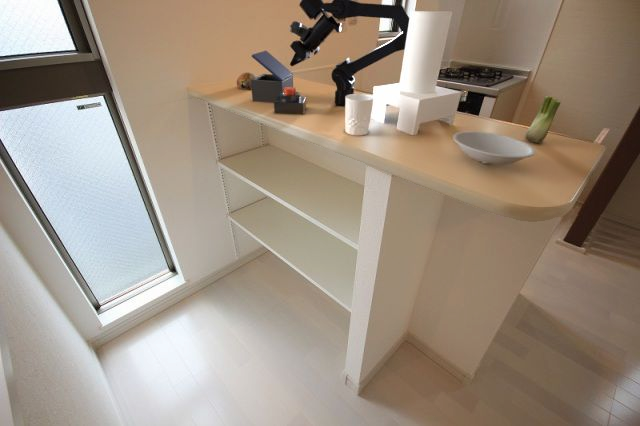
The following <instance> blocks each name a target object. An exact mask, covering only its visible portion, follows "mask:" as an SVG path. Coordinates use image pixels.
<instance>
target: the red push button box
mask: <svg viewBox="0 0 640 426" xmlns="http://www.w3.org/2000/svg"><path fill="white" fill-rule="evenodd" d="M273 108H274V109H273V111H274V114H279V115H281V114H282V115H304V114H305V111H306V109H307V96H301V92H299V91H296V94H295V95H285V94H284V92H281V93H280V96H278V97H277V99H276V100H275V101H274V103H273Z"/></svg>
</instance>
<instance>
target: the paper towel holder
mask: <svg viewBox="0 0 640 426" xmlns="http://www.w3.org/2000/svg"><path fill="white" fill-rule="evenodd" d="M452 16H453V11H435V10H434V11H433V10H428V11H427V10H411V11H410V13H409V25H408V31H407V38H406V44H405V49H404V50H403V57H402V64H401V71H400V77H399V82H397V83H390V84H384V85H376V86H373V89H372V97H373V98H374V99H373V106H372V112H371V118H370V120H373V121H376V122H377V123H378V122H379V123H381V124H385V117H386V111H387V107H388V106H392V107H394V108H398V109H399V110H398V115H397V116H398V117H397V123H396V130H398V131H400V132H403V133H406V134H407V135H411V136H416V135H418V132H419V128H420V124H425V123H427V122H432V121H436V120H437V121H440V122H444V123H446V124H449V125H448V126H453V125H454V122H455V118H456V115H457V111H458V108H459V104H460V100H461V96H462V91H459V90H456V89H451V88H446V87H443V86H438V79H439V75H440V71H441V67H442V66H441V65H442V61H443V56H444V53H445V49H446V43H447V39H448V34H449V29H450V25H451V21H452Z"/></svg>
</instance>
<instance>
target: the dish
mask: <svg viewBox="0 0 640 426" xmlns="http://www.w3.org/2000/svg"><path fill="white" fill-rule="evenodd" d="M452 139H453V141H454V142H456V143H457V146H458V147H459V148H460V150H461V151H462V152H463V153H464V154H465V155H467V156H468V157H470V158H471V159H473V160H476V161H479V162H481V163H483V164H484V165H485V164H486V165H488V164H491V165H508V164H513V163H516V162H519V161H522V160H525V159H526V158H530V157H533V156H534V155H535V154H536V149H535V148H534V147H533V146H531V145H530V144H528V143H526V142H524V141H522V140H520V139H517V138H513V137H510V136H506V135H503V134H498V133H493V132H486V131H474V130H472V131H471V130H467V131H466V130H465V131H459V132H456V133H454V134H453V135H452Z"/></svg>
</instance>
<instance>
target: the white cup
mask: <svg viewBox="0 0 640 426" xmlns="http://www.w3.org/2000/svg"><path fill="white" fill-rule="evenodd" d="M373 99H374V98H373V95H370V94H367V93H354V94H350V95H347V96H346V97H345V106H344V123H345V125H344V126H345V127H344V130H345V133H346V134H348V135H351V136H357V137H358V136H364V135H367V134H368V133H369V127H370V124H371V119H370V118H371V112H372V106H373Z"/></svg>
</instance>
